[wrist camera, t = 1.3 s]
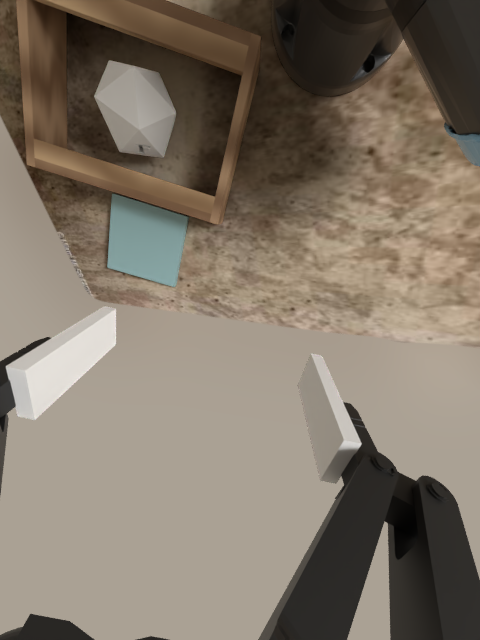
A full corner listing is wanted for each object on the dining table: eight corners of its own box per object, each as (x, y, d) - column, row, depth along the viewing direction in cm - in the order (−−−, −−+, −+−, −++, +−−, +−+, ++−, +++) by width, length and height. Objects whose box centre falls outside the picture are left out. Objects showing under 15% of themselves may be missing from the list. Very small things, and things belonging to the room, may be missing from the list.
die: (109, 134, 32) (105, 168, 27) (92, 39, 26) (82, 61, 21) (172, 144, 35) (178, 176, 30) (171, 59, 28) (179, 83, 23)
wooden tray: (57, -6, 27) (12, -58, 22) (259, 68, 29) (261, 36, 23) (60, 172, 34) (26, 164, 29) (222, 223, 36) (217, 224, 31)
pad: (115, 193, 35) (111, 193, 34) (188, 216, 35) (187, 216, 35) (110, 266, 39) (107, 267, 38) (176, 285, 40) (174, 287, 39)
